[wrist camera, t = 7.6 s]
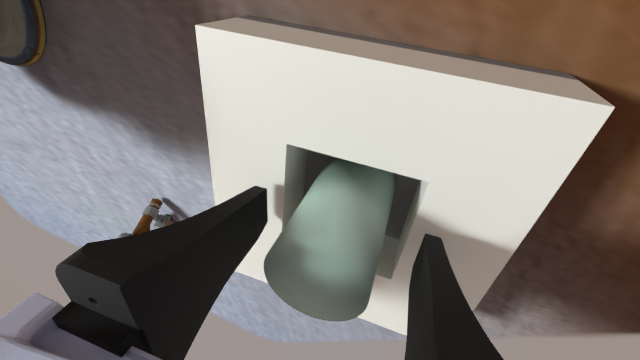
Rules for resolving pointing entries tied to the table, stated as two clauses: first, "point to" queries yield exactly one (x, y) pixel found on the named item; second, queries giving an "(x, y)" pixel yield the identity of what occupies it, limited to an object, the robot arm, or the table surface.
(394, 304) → the socket block
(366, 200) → the peg
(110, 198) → the table surface
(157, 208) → the wooden post with brackets
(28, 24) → the apothecary jar
